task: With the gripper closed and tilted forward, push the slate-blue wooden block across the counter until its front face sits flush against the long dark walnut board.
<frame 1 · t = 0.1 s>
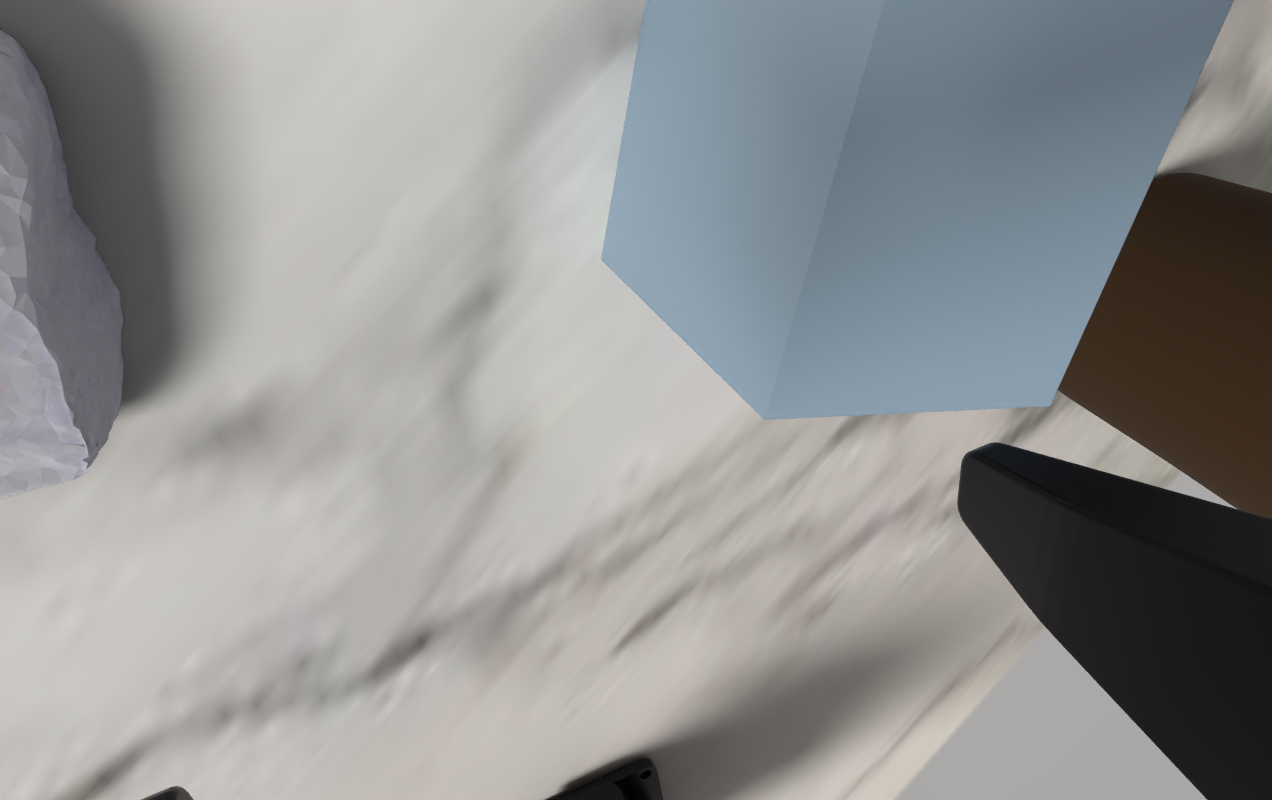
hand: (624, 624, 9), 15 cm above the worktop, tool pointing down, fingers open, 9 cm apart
olive oil: (1127, 289, 34), on the worktop
slate block: (761, 108, 23), on the worktop
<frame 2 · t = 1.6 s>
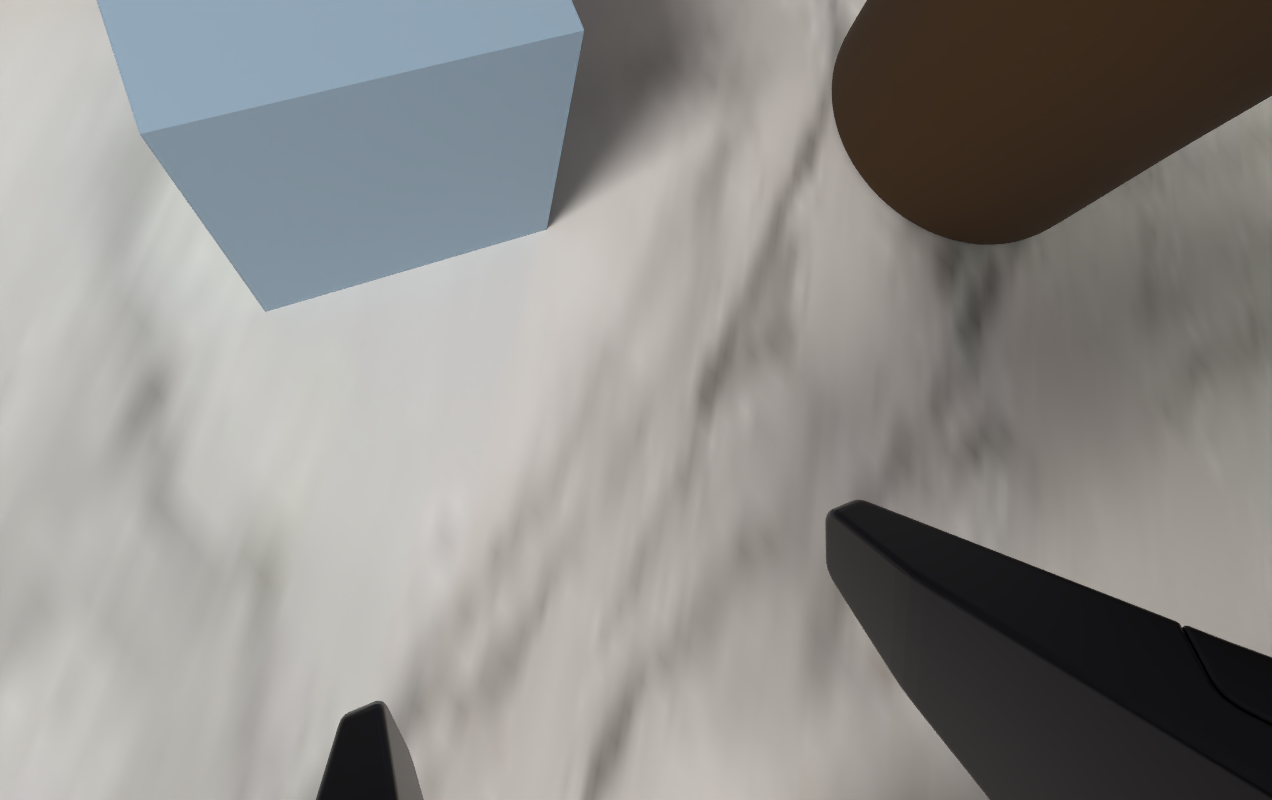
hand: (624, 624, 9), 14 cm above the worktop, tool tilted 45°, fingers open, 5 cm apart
olive oil: (961, 120, 29), on the worktop
slate block: (360, 129, 25), on the worktop
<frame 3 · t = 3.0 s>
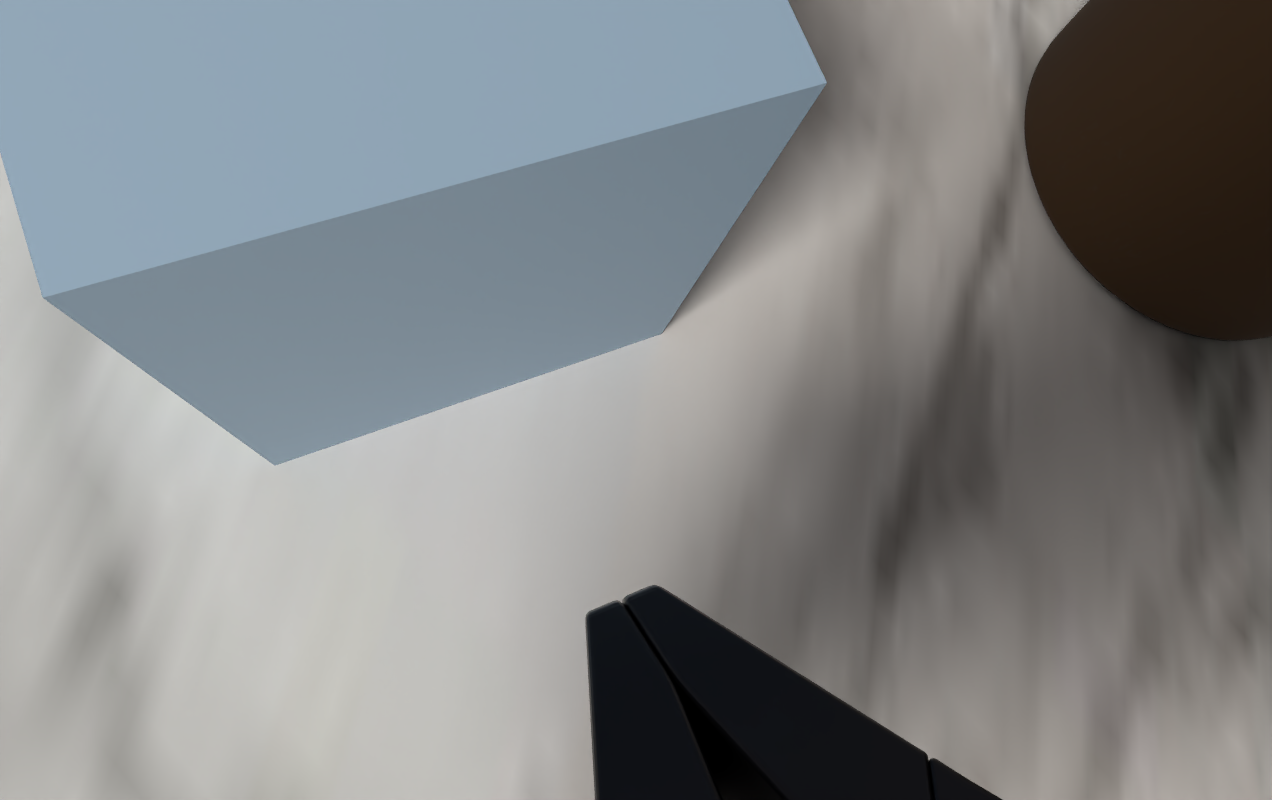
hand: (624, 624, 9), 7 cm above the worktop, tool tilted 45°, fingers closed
olive oil: (1185, 171, 22), on the worktop
slate block: (405, 198, 18), on the worktop
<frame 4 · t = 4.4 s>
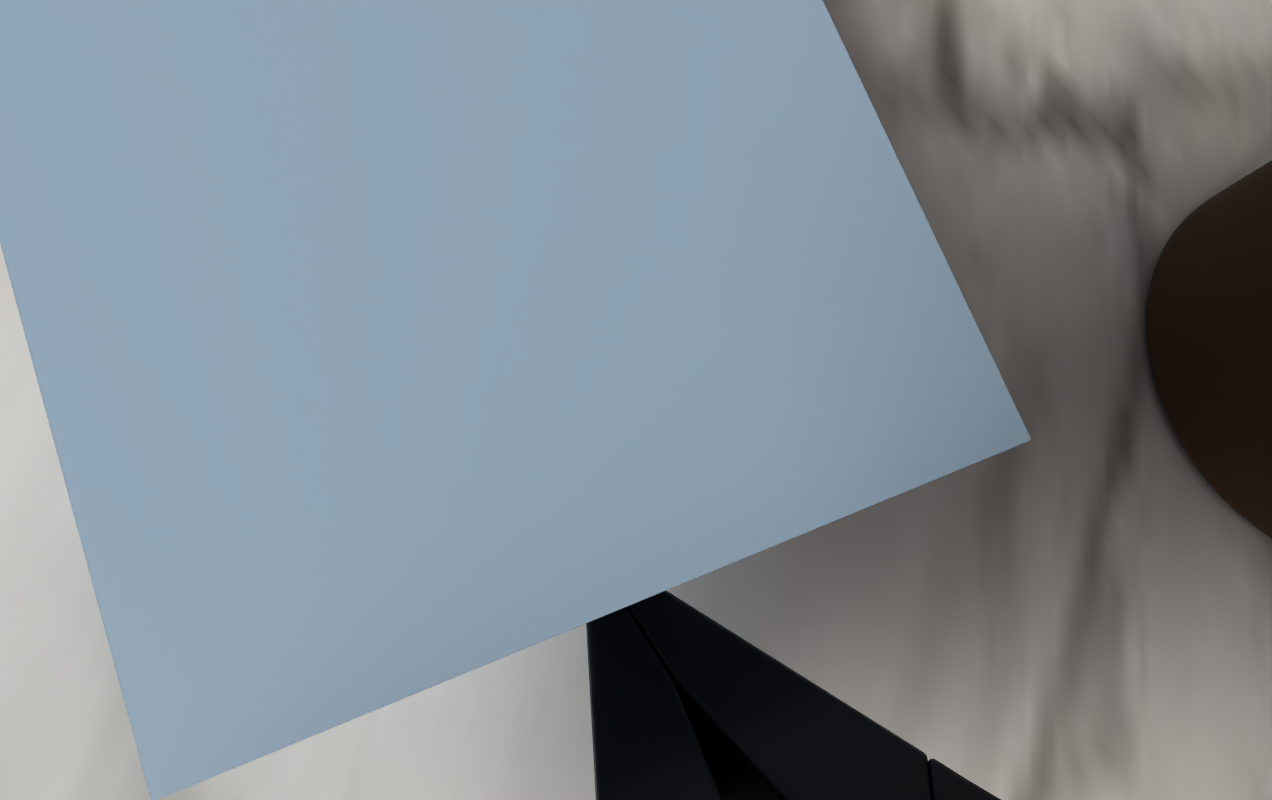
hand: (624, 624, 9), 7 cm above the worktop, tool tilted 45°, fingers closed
slate block: (477, 384, 17), on the worktop, touching gripper
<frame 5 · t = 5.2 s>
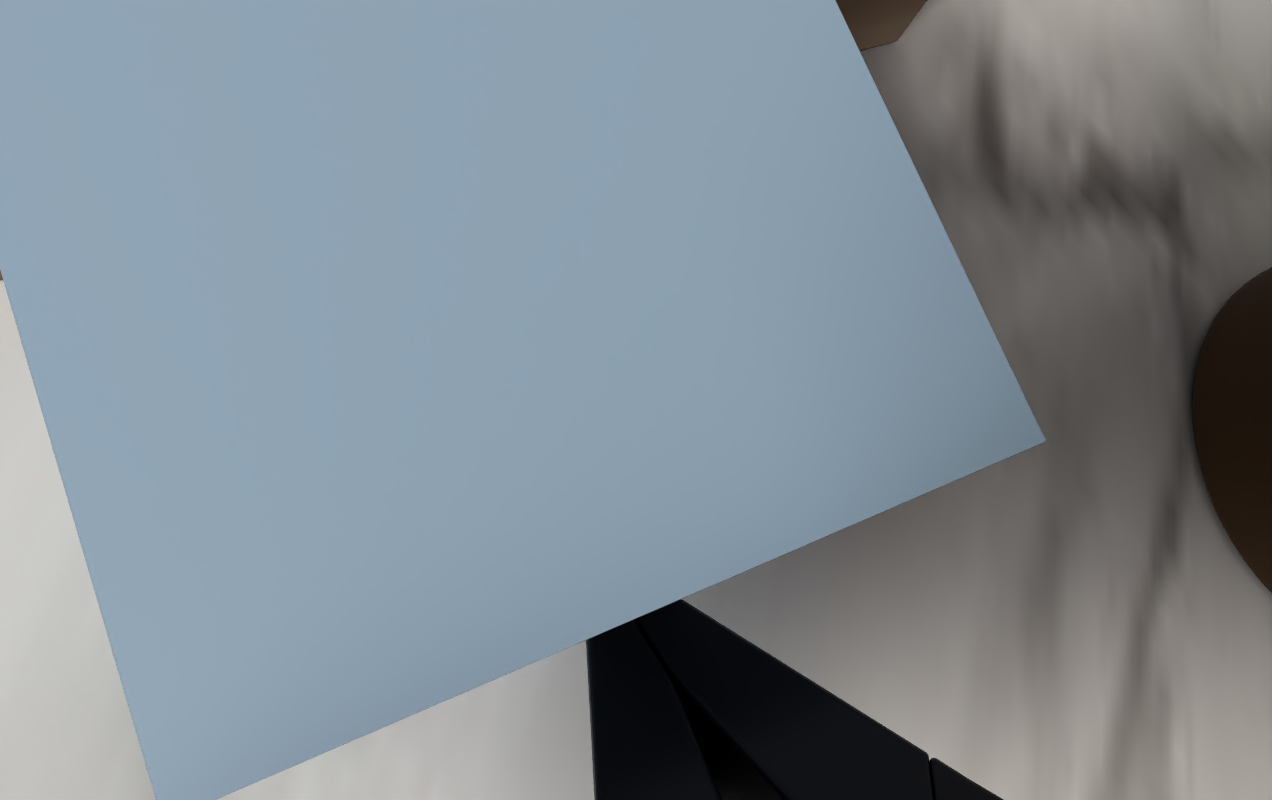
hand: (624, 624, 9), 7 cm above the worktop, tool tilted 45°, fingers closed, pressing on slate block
walnut board: (369, 109, 17), on the worktop
slate block: (476, 380, 16), on the worktop, touching gripper, walnut board
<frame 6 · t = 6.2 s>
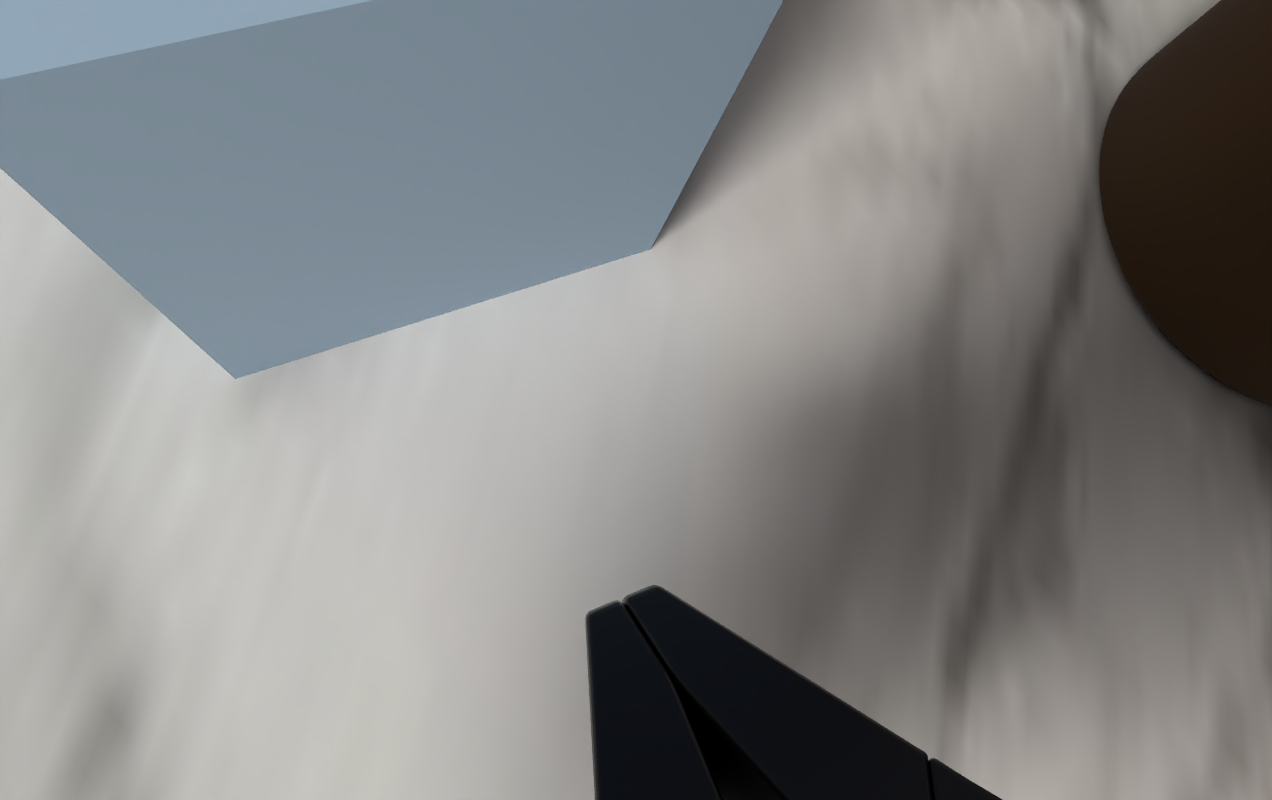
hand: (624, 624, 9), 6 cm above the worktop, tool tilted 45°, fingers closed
olive oil: (1266, 223, 20), on the worktop
slate block: (377, 100, 17), on the worktop
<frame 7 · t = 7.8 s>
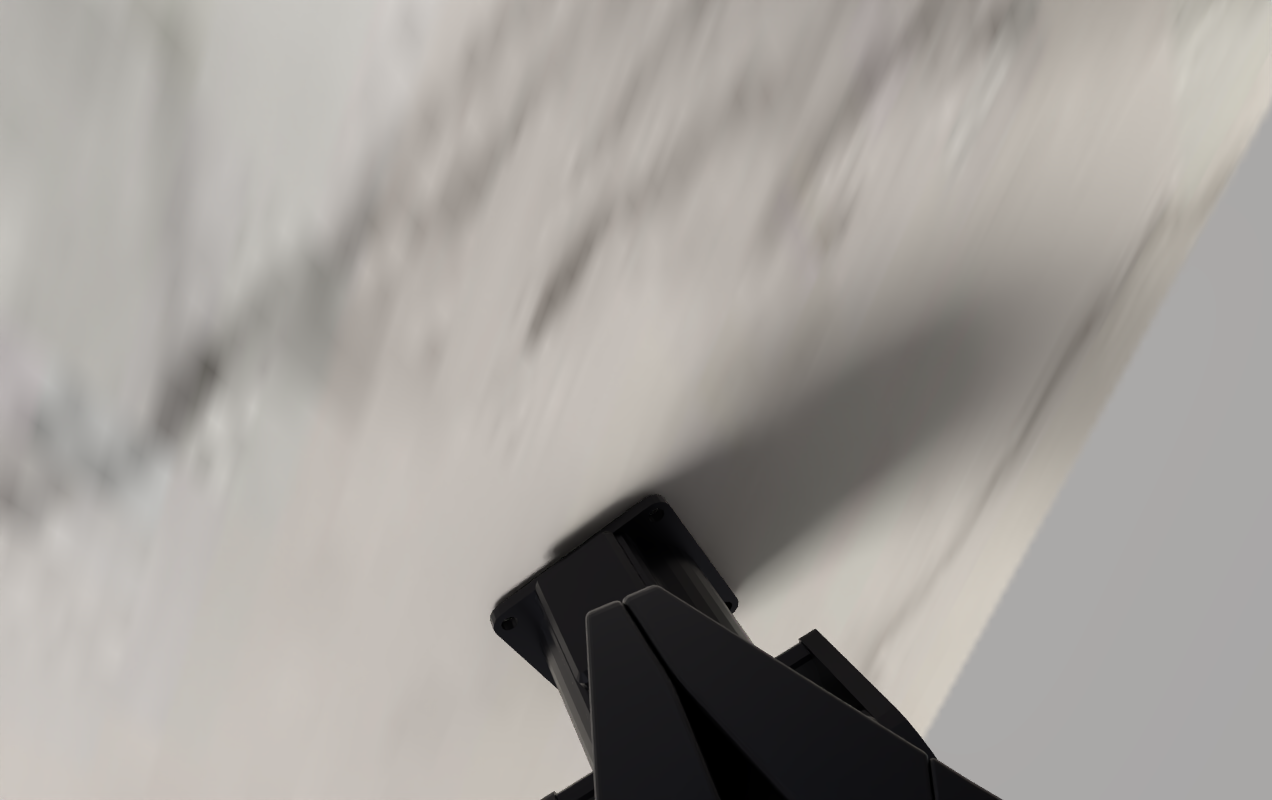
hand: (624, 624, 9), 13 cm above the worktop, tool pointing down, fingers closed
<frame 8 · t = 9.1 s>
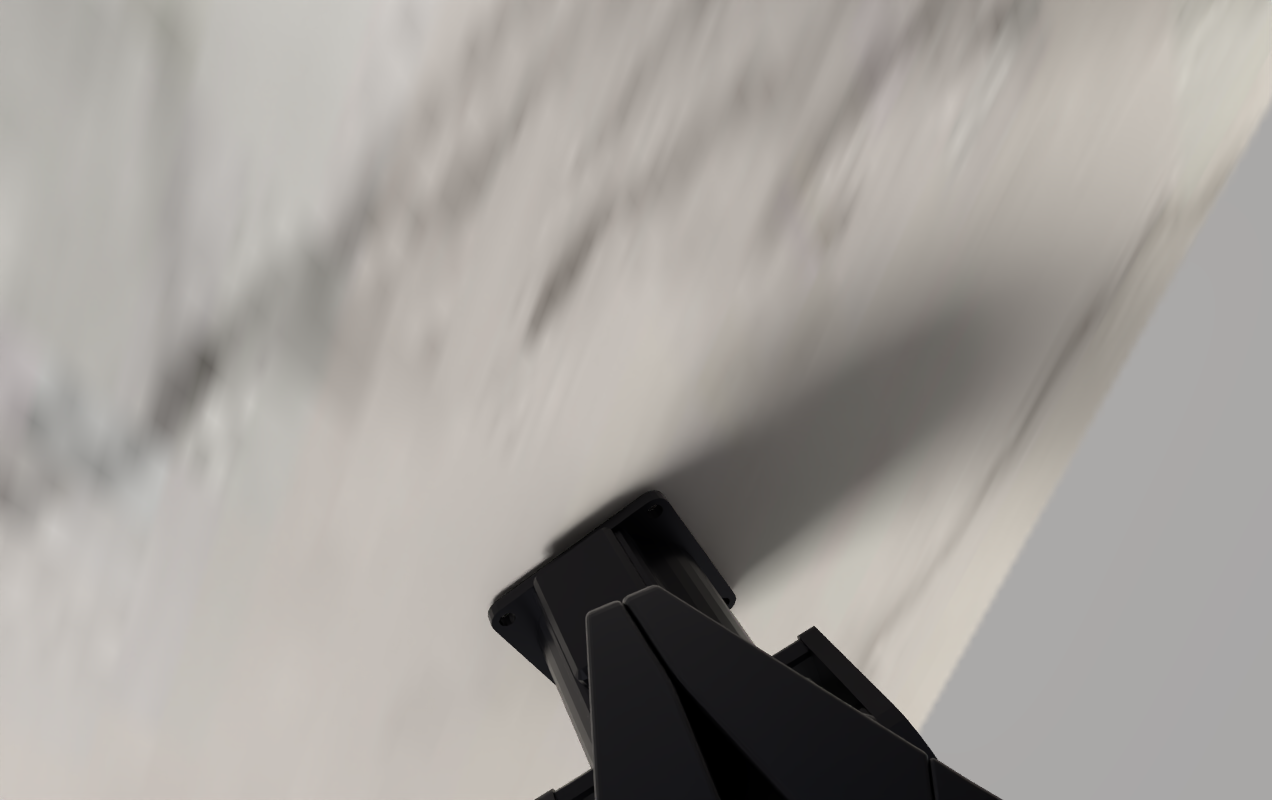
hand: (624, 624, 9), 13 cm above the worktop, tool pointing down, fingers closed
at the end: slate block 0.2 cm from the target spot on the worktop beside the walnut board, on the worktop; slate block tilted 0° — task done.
